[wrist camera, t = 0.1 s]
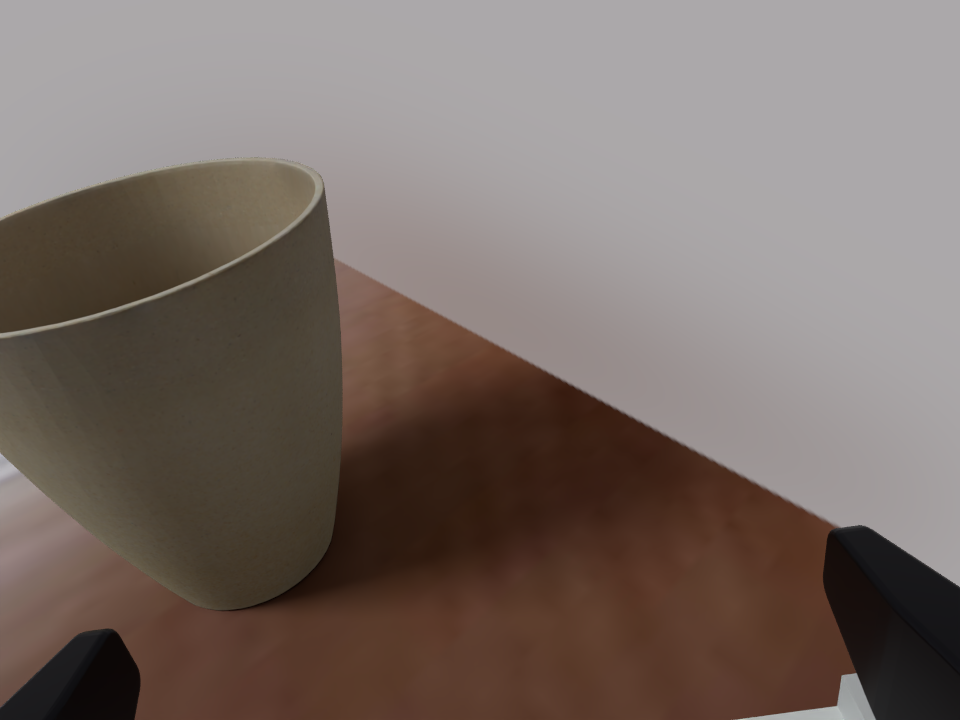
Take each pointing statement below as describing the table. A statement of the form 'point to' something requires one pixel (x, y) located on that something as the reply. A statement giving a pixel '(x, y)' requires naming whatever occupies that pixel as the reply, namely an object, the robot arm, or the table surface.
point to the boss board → (848, 716)
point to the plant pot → (181, 370)
